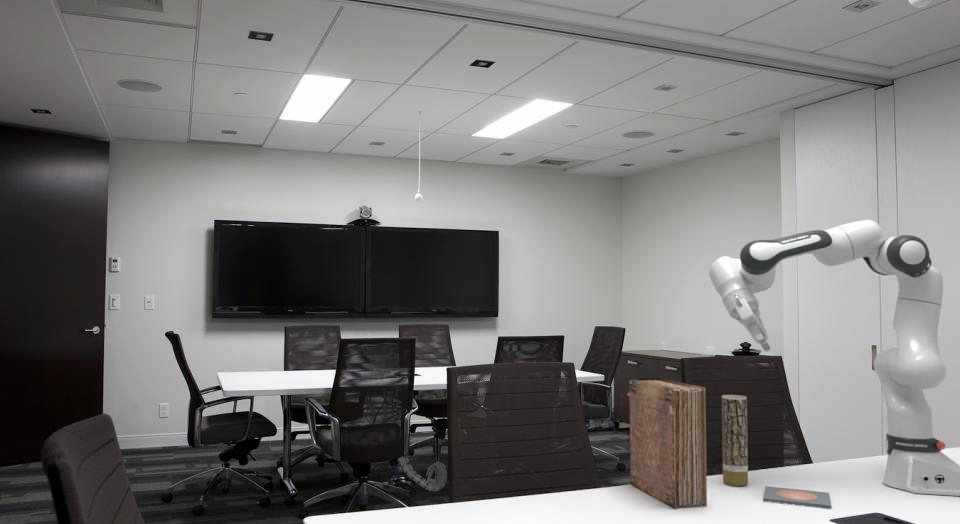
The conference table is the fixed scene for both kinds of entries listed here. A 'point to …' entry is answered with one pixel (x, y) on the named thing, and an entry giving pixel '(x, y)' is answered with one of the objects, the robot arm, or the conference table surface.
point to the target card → (797, 497)
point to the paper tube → (734, 440)
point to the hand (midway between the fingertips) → (764, 345)
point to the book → (668, 441)
